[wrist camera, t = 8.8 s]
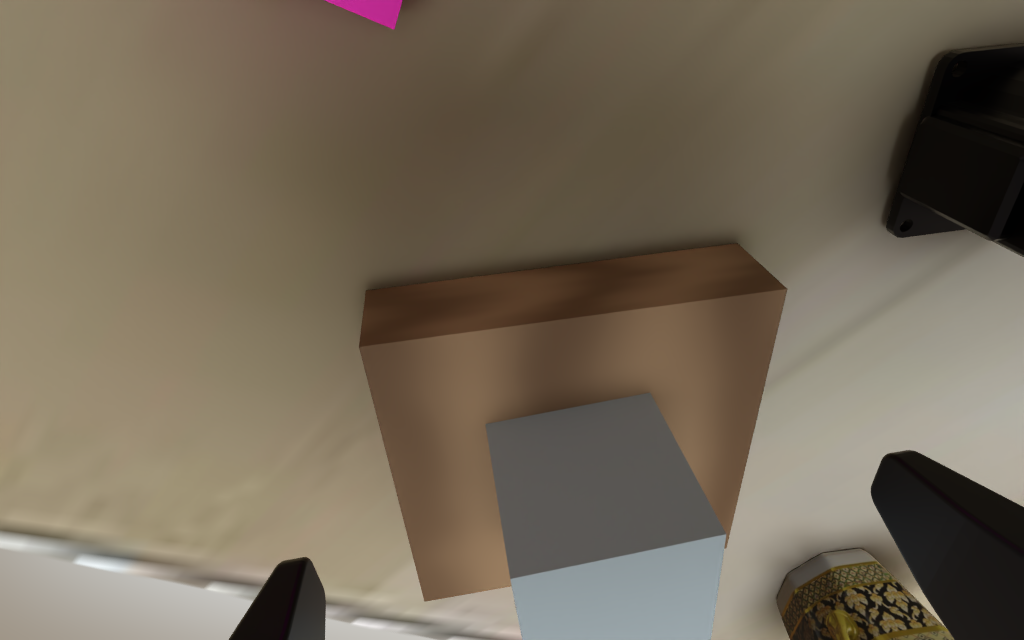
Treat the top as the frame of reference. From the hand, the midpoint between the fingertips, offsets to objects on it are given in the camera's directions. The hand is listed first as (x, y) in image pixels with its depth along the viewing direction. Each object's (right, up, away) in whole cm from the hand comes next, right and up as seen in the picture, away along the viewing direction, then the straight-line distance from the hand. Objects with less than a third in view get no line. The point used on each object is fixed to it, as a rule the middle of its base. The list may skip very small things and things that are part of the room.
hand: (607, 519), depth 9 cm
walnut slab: (+1, 0, +17) cm, 17 cm away
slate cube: (+1, -3, +13) cm, 14 cm away
